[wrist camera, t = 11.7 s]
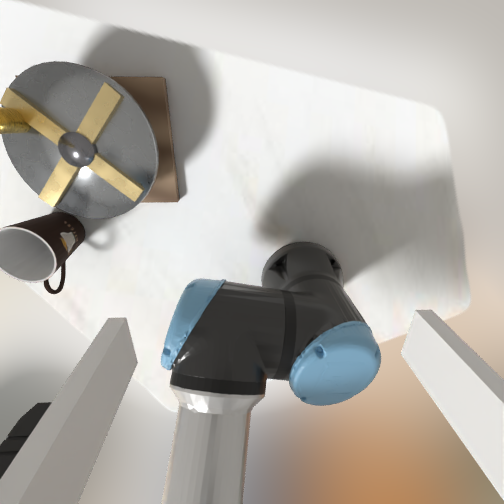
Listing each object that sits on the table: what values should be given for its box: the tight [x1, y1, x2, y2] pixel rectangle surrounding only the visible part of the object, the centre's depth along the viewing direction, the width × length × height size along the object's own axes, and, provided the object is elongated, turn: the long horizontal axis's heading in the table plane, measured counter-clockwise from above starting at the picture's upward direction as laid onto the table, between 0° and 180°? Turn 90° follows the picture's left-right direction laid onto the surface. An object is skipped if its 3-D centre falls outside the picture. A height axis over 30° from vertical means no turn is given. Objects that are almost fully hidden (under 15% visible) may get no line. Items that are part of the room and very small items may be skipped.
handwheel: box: [0, 61, 159, 219], centre depth 29 cm, size 18×18×12 cm
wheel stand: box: [16, 76, 179, 202], centre depth 37 cm, size 17×19×6 cm
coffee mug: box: [0, 212, 85, 294], centre depth 42 cm, size 12×9×10 cm
